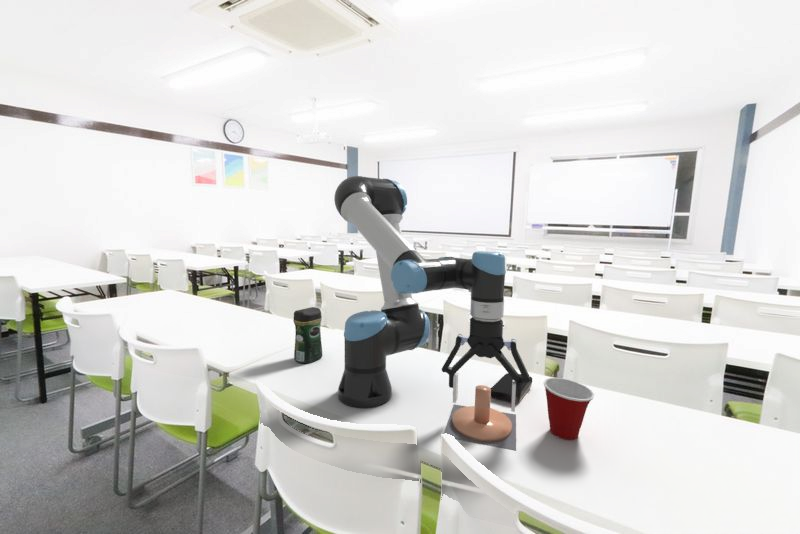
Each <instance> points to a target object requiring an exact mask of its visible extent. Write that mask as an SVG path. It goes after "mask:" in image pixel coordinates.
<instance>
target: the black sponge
mask: <svg viewBox="0 0 800 534" xmlns="http://www.w3.org/2000/svg"><path fill="white" fill-rule="evenodd" d="M518 374H519V375H520V376H522V375H521V373H518ZM529 377H530V382H528V383H526V382H525V383H522V384H521V396H520V397H515V404H519V403H520V402H521V401H522V399H523V398H524V396H526V394H527V393H528V391H529V390H530V389H531V387H532V383H533V377H532V376H530V375H529ZM512 381H513V378H512V377H511V376H510V375H509V373H508V372H507V373H505V374H504V375H503V376H502V377H501V378H500V379H499V380H498V381H497V382H496V383H494V384H493V385H492V386H491V387H490V388H491V398H492V399H495V400H501V401H505V402H509V403H511V404H512Z"/></svg>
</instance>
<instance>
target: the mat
mask: <svg viewBox="0 0 800 534" xmlns="http://www.w3.org/2000/svg"><path fill="white" fill-rule="evenodd" d="M463 407H468V406H467V405H466V406H465V405H461V404H460V405H459V404H456V403H454V404H453V405H452V408H451V411H450V414H449V418H448V420H447V423H446V425H445V427H444V431H443V434H444V433H447V434H450V435H452V436H454V437H455V439H454V440H459V441H463V442H469V443H473V444H474V443H475V444H479V445H480V444H481V445H486V446H488V447H489V446H491V447H496V448H501V449H506V450H509V451H514V452H515V451H517V414H515V413H509V412H504V411H500V412H501V413H503V414H505V415H506V416H507V417H508V418H509V419H510V421H511V423H512V431H511V434H510V435H509V436H508V437H507V438H505V439H503V440H500V441H493V442H485V441H478V440H474V439H471V438H468V437H466V436H464V435H462V434H460V433H459V432H458V431H457V430H456V429H455V428H454V426H453V424H452V418H453V414H454V412H455V411H457V410H458V409H460V408H463Z"/></svg>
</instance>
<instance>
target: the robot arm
mask: <svg viewBox="0 0 800 534" xmlns="http://www.w3.org/2000/svg"><path fill="white" fill-rule="evenodd" d="M334 192H335V193H334V206H335V208H336V210H337V212H338V214H339V215H340V216H341V217H342V218H343V220H344V221H346V222H348V223H351V224H352V225H353V226H354V227H355V229H356V230H357V231H358V232H359V233H360V234H361V235H362V236H363V237H364V239H365V240H366V241H367V243H368V244H369V245H370V246H371V247H372V248H373V250H374V251H375V254H376V259H377V265H378V266H377V267H378V271H379V272H378V273H379V278H380V285H381V289H382V295H383V296H382V297H383V302H384V304H383V305H382V307H381V308H380V310H364V311H359V312H356V313H353V314H352V315H350V316H349V317H347V319H346V321H345V323H344V331H343V337H344V370H343V373H342V375H341V379H340V382H339V385H338V388H337V394H338V395H337V396H338V399H339V401H340V402H341V403H342V404H344V405H346V406H349V407H354V408H359V409H360V408H374V407H378V406H382V405H384V404H386V403H387V402H389V401H390V399H392V392H393V391H392V388H393V387H392V384H391V380H390V378H389V377H390V376H389V374H388V370H387V356H391V355H395V354H399V353H402V352H407V351H413V350H415V349H417V348H420V347H422V346H424V345H425V344H426V343H427V341H428V339H429V337H430V332H431V322H430V319H429V316H428V315H427V314H426V312H425V311H424V310H422V309H420V306H419V302H417V301H416V300H414V299H413V296H412V294H414V295H415V294H420V293H424V292H432V291H441V290H447V289H463V290H468V291H470V310H469V312H470V313H469V315H470V318H469V335H468V336H464V335H463V334H461V333H459V334H457V336H456V338H455V343H454V346H453V348H452V350H451V351H450V353H449V355H448V356H447V358H446V360H445V362H444V364H443V365H442V367H441V372H443V373H446V374H448V387H449V388H451V389H452V403H454V404H456V403H457V400H458V392H459V391H458V389H459V372H458V371H459V370H460V369H462V367H464V365H465V364H466V363H468V362H469V360H470V359H472V358H473V356H475V355H476V356H477V357H478V358H484V357H485V358H488V359H492V358H495V359H496V360H497V362H499V363H500V365H502V367H503V368H504V369H505V371H506V372H507V373H509V375H510V376H511V377H512V378H513V381H512V403H511V406H510V407H511V410H510V411H511V412H513V413H515V411H516V403H515V397H520V396H521V384H522V383H525V382H526V383H528V382H530V377H531V376H530V374H529V372H528V370H527V368H526V365H525V364H524V361H523V359H522V357H521V355H520V353H519V351H518V349H517V341H516V339H514V338H512V339H511V340H504V337H503V333H504V332H503V331H504V321H503V319H502V318H504V309H505V307H504V306H505V299H504V298H505V296H504V295H505V292H504V291H505V281H506V272H507V271H506V256H505V254H503V252H498V251H474V252H473V253H472V255H471V258H462V257H455V256H441V257H438V258H429V259H428V258H424V256H423V255H421V254H420V252H418V250H416V249H415V248H414V246H412V245H411V244H410V242H409V241H408V240H407V239H406V237H405V238H404V237H403V235H402V234H401V229H400V222H401V221H402V220H403V217H404V216H403V214H404V213H405V212H406V210H407V205H408V196H407V193H406V190H405V188H404V187H403V185H402V184H401V183H399V182H398V181H396V180H393V179H389V178H377V177H376V178H375V177H367V176H362V175H360V176H359V175H355V176H349V177H347V178H345V179H343V180H342V181H341V182H340V183H339V185H338V186H337V187H336V190H335V191H334ZM465 343H467V344H468V346H469V347H470V348H469V350H467V352H465V354H463V356H462V357H460V359H458V361H456V362H455V363H454V365H453V366H451V364H452V362H453V360H454V358H455V357H456V355H457V353H458V351H459V350H460V348H461V346H464V345H465ZM504 347H506V348H507V350H508V351H510V352H511V355H512V357H513V360H514V362H515V363H516V367H517V368H518V370H519V372H520V373H519V372H518V371H517V370H516V369H515V367H514V366H513V365H512V364H511V363H510V361H509V360H508V359H507V358H506V355H504V353H503V352H502V349H503V348H504ZM519 374H521V375H522V376H520V375H519ZM529 376H530V377H529Z"/></svg>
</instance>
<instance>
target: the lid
mask: <svg viewBox="0 0 800 534" xmlns="http://www.w3.org/2000/svg"><path fill="white" fill-rule="evenodd" d="M474 392H475V394H474V405H469V406H467V407H463V408H460V409H458V410H457V411H455V412H454V414H453V418H452V424H453V426H454V428H455V429H456V430H457V431H458V432H459V433H460V434H462V435H464V436H466V437H468V438H471V439H474V440H478V441H485V442H493V441H500V440H503V439H505V438H507V437H508V436H509V435H510V434H511V431H512V423H511V421H510V419H509V418H508V417H507V416H506V415H505V414H503V413H501V412H502V411H500V410H497V409H495V408H491V398H492V397H491V387H489V386H487V385H483V384H482V385H480V384H479V385H476V386H475V391H474Z"/></svg>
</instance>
